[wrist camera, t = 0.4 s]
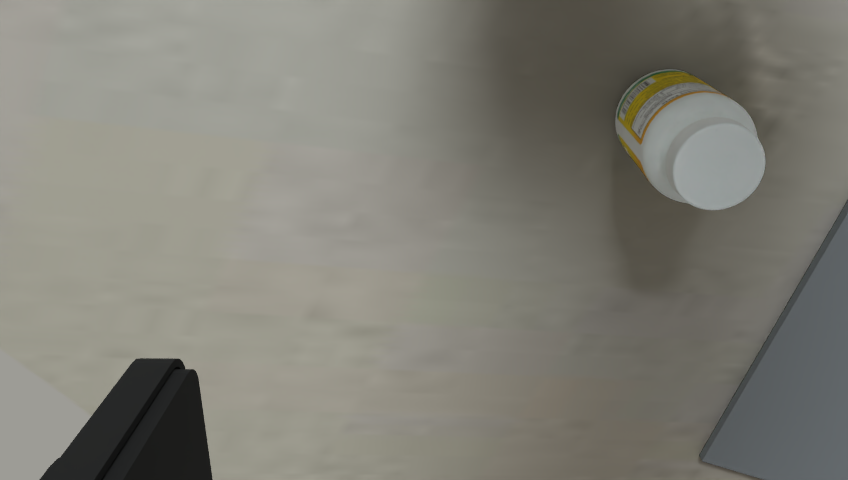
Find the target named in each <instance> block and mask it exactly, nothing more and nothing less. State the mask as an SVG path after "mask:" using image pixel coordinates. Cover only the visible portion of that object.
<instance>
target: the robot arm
mask: <svg viewBox="0 0 848 480" xmlns="http://www.w3.org/2000/svg"><path fill="white" fill-rule="evenodd" d="M40 480H212V473H211V466H210V459H209V451H208V444H207V437H206V430H205V423H204V415H203V408H202V401H201V394H200V387H199V380H198V375H197V373H196V371H195V370H193V369H185V366H184V364H183V362H182V361H181V360H180V359H143V358H140V359H136V360H135V361H134V362H133V363H132V364H131V365H130V366H129V368H128V369H127V370H126V372H125V373H124V374H123V376H122V377H121V378H120V380H119V381H118V382H117V383H116V385H115V386H114V387H113V389H112V390H111V391H110V393H109V394H108V395H107V397H106V398H105V399H104V401H103V402H102V403H101V405H100V406H99V407H98V408H97V410H96V411H95V412H94V414H93V415H92V416H91V418H90V419H89V420H88V422H87V423H86V424H85V426H84V427H83V428H82V430H81V431H80V432H79V433H78V435H77V436H76V437H75V439H74V440H73V442H72V443H71V444H70V446H69V447H68V448H67V449H66V451H65V452H64V453H63V455H62V456H61V457H60V458H58V459H57V460H56V461H55V462H54V463H53V464H52V465H51V466H50V467H49V468H48V469H47V471H46V472H45V473H44V475H43V476H42V477H41V479H40Z"/></svg>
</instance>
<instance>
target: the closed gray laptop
mask: <svg viewBox="0 0 848 480" xmlns="http://www.w3.org/2000/svg"><path fill="white" fill-rule="evenodd" d="M699 456H700V458H701V460H702V461H703V462H707V463H710V464H713V465H717V466H720V467H723V468H727V469H730V470H733V471H737V472H740V473H743V474H746V475H750V476H753V477H756V478H760V479H763V480H848V201H847V203H846V204H845V206H844V208H843V210H842V211H841V213H840V215H839V216H838V218H837V220H836V222H835V223H834V225H833V227H832V228H831V230H830V232H829V234H828V235H827V237H826V239H825V240H824V242H823V244H822V246H821V247H820V249H819V251H818V252H817V254H816V256H815V258H814V259H813V261H812V263H811V264H810V266H809V268H808V270H807V271H806V273H805V275H804V276H803V278H802V280H801V282H800V283H799V285H798V287H797V288H796V290H795V292H794V294H793V295H792V297H791V299H790V300H789V302H788V304H787V306H786V307H785V309H784V311H783V312H782V314H781V316H780V318H779V319H778V321H777V323H776V324H775V326H774V328H773V330H772V331H771V333H770V335H769V337H768V338H767V340H766V342H765V343H764V345H763V347H762V349H761V350H760V352H759V354H758V355H757V357H756V359H755V361H754V362H753V364H752V366H751V367H750V369H749V371H748V373H747V374H746V376H745V378H744V379H743V381H742V383H741V385H740V386H739V388H738V390H737V391H736V393H735V395H734V397H733V398H732V400H731V402H730V403H729V405H728V407H727V409H726V410H725V412H724V414H723V415H722V417H721V419H720V421H719V422H718V424H717V426H716V427H715V429H714V431H713V433H712V434H711V436H710V438H709V439H708V441H707V443H706V445H705V446H704V448H703V450H702V451H701V453H700V455H699Z"/></svg>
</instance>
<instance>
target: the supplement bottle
mask: <svg viewBox="0 0 848 480" xmlns="http://www.w3.org/2000/svg"><path fill="white" fill-rule="evenodd" d="M615 126H616V132H617V136H618V138H619V140H620V142H621V144H622V146H623V147H624V149H625V150H626V151H627V153H628V154H629V155H630V157H631V158H632V159H633V160H634V162H635V163H636V164H637V166H638V167H639V168H640V170H641V171H642V172H643V174H644V175H645V176H646V178H647V180H648V181H649V182H650V183H651V184H652V185H653V186H654V187H655V188H656V189H657V190H658V191H659V192H660V193H662V194H663V195H665V196H666V197H668V198H670V199H672V200H675V201H678V202H683V203H689V204H691V205H692V206H694V207H697V208H700V209H704V210H722V209H726V208H730V207H732V206H735V205H737V204H739V203H740V202H742V201H744V200H745V199H746V198H748V197H749V196H750V195H751V194H752V193H753V192H754V190H755V189H756V188H757V186H758V185H759V183H760V182H761V179H762V177H763V174H764V171H765V163H766V159H765V152H764V149H763V146H762V144H761V142H760V141H759V139H758V137H757V131H756V128H755V125H754V123H753V121H752V119H751V117H750V115H749V114H748V113H747V111H746V110H745V109H744V108H743V107H742V106H741V105H739V104H738V103H737V102H735V101H734V100H732V99H731V98H729V97H728V96H726V95H724V94H723V93H721V92H719V91H718V90H716V89H714V88H713V87H711V86H710V85H708V84H706V83H705V82H703V81H701V80H700V79H698V78H697V77H695V76H693V75H691V74H689V73H687V72H684V71H681V70H676V69H665V70H658V71H654V72H651V73H649V74H647V75H645V76H643V77H641V78H640V79H638V80H637V81H636V82H634V83H633V84H632V85H631V86H630V87H629V88H628V89H627V91H626V92H625V93H624V95H623V96H622V98H621V100H620V102H619V104H618V107H617V111H616V117H615Z"/></svg>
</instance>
